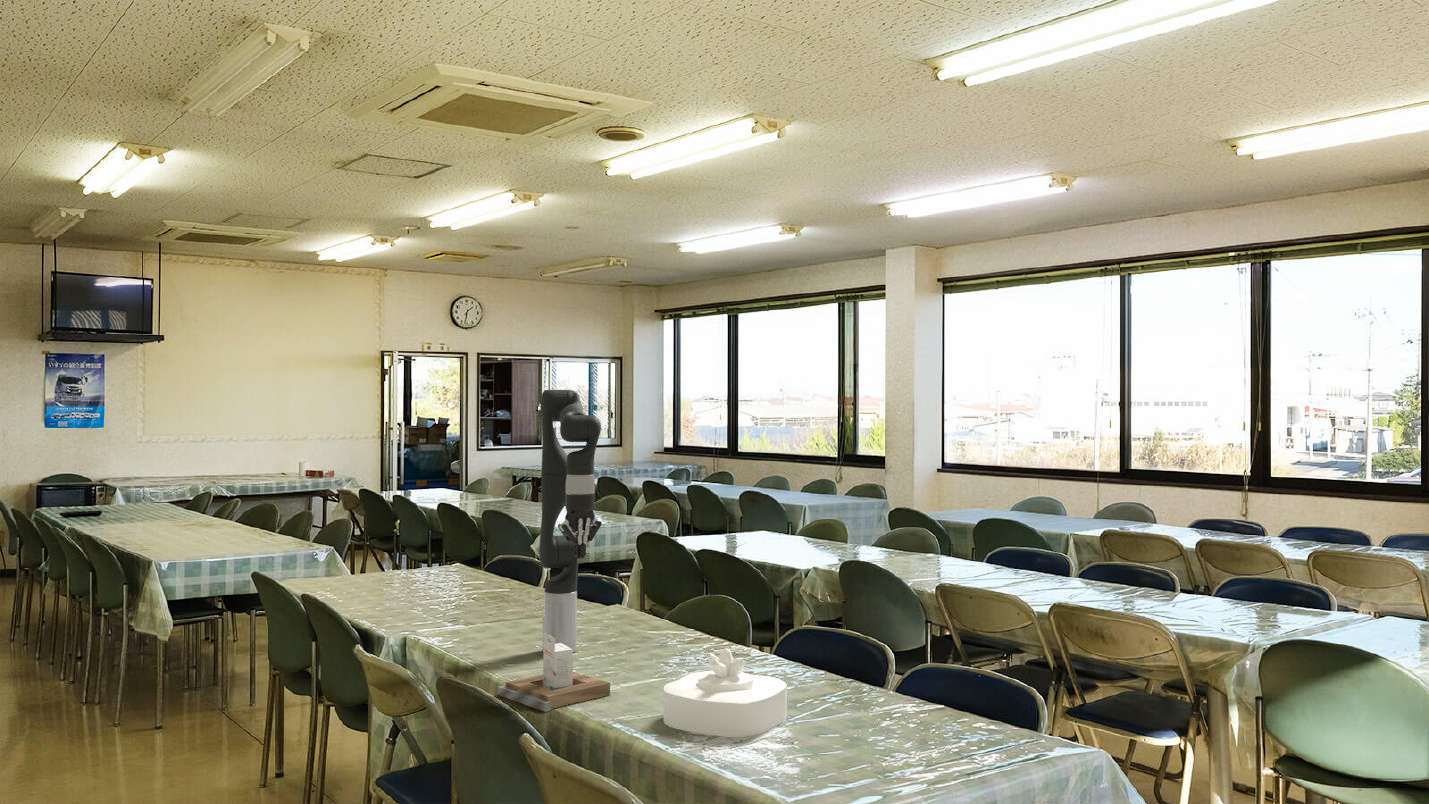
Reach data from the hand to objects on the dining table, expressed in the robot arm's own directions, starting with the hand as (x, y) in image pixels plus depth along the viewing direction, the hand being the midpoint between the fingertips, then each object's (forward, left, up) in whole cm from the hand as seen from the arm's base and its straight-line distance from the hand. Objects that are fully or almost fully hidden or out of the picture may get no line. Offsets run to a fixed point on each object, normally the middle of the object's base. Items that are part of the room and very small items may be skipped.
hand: (579, 558), depth 271 cm
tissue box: (+52, +2, -31) cm, 60 cm away
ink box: (+10, -14, -31) cm, 35 cm away
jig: (+10, -14, -31) cm, 35 cm away
